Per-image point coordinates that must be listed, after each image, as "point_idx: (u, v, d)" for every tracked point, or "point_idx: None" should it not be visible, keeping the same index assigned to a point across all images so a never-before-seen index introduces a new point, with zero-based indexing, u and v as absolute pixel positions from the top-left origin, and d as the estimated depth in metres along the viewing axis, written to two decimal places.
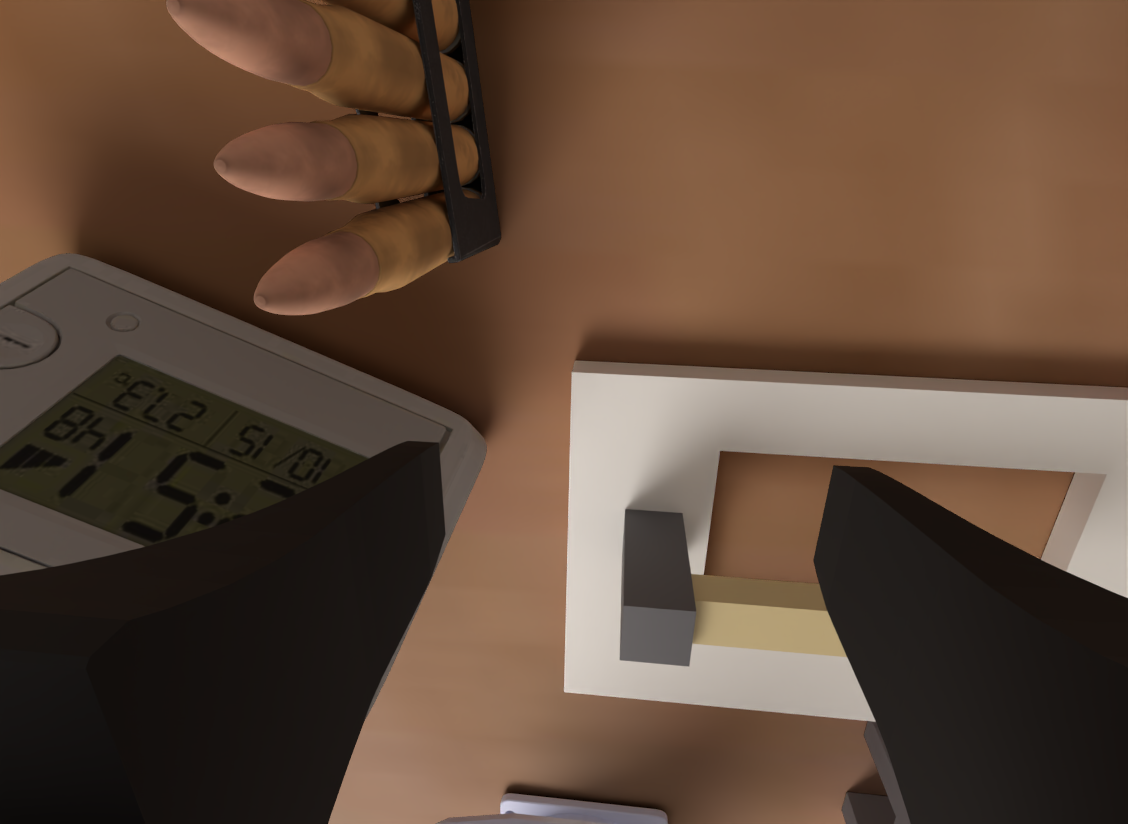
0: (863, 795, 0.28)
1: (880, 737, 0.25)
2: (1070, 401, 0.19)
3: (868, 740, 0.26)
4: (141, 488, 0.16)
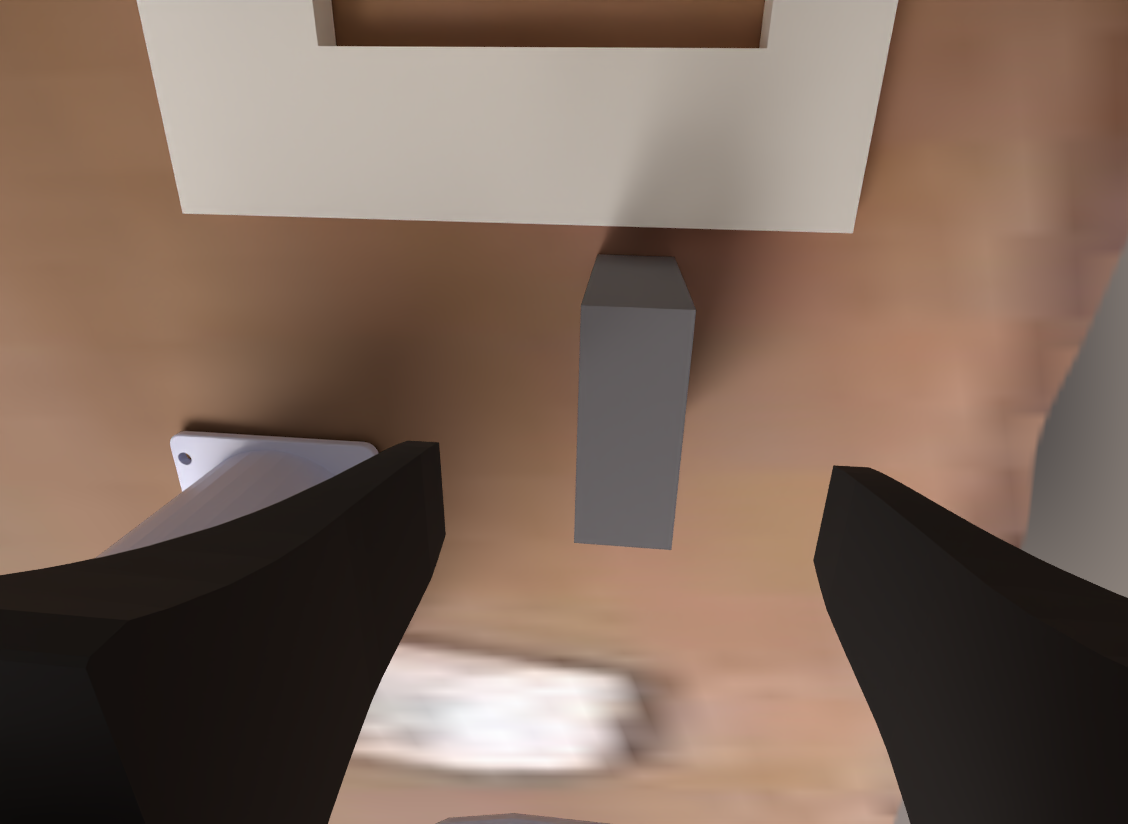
0: None
1: (597, 259, 0.18)
2: None
3: None
4: None
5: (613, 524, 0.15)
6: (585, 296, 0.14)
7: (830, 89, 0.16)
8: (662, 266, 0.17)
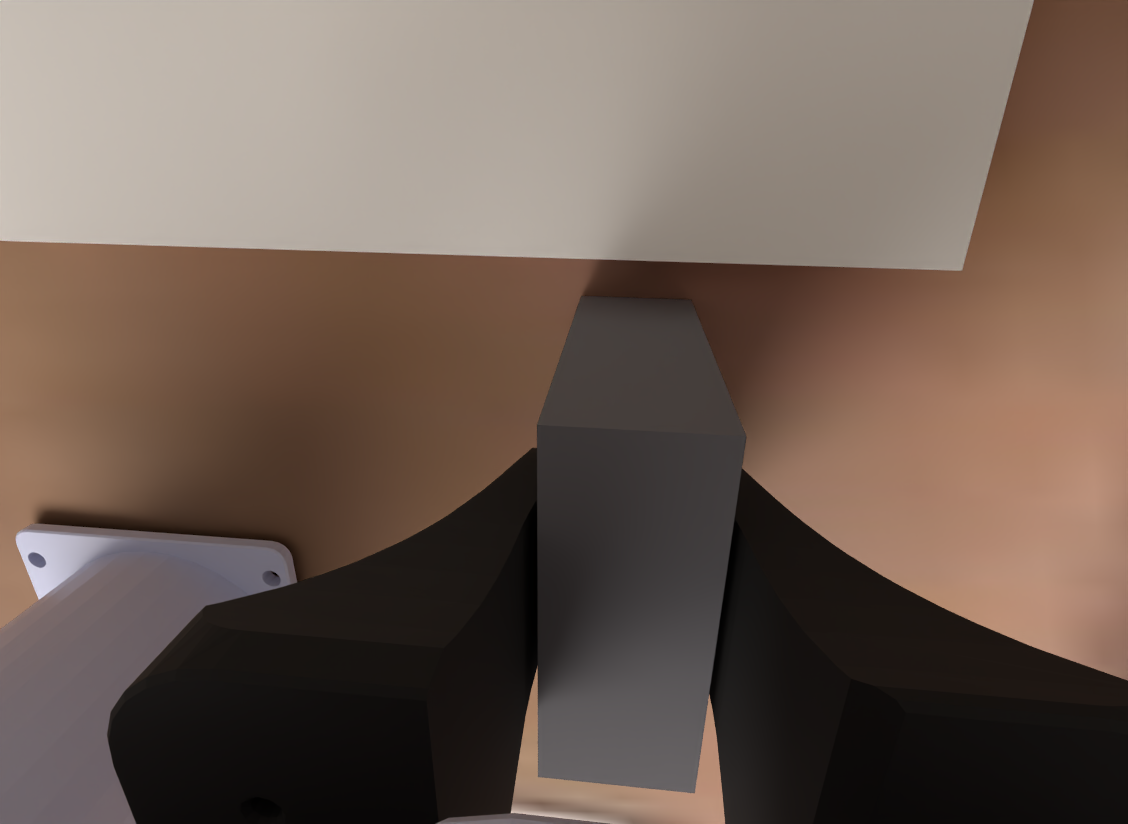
0: None
1: (579, 306, 0.13)
2: None
3: None
4: None
5: (600, 754, 0.09)
6: (549, 397, 0.08)
7: (940, 49, 0.10)
8: (675, 320, 0.12)
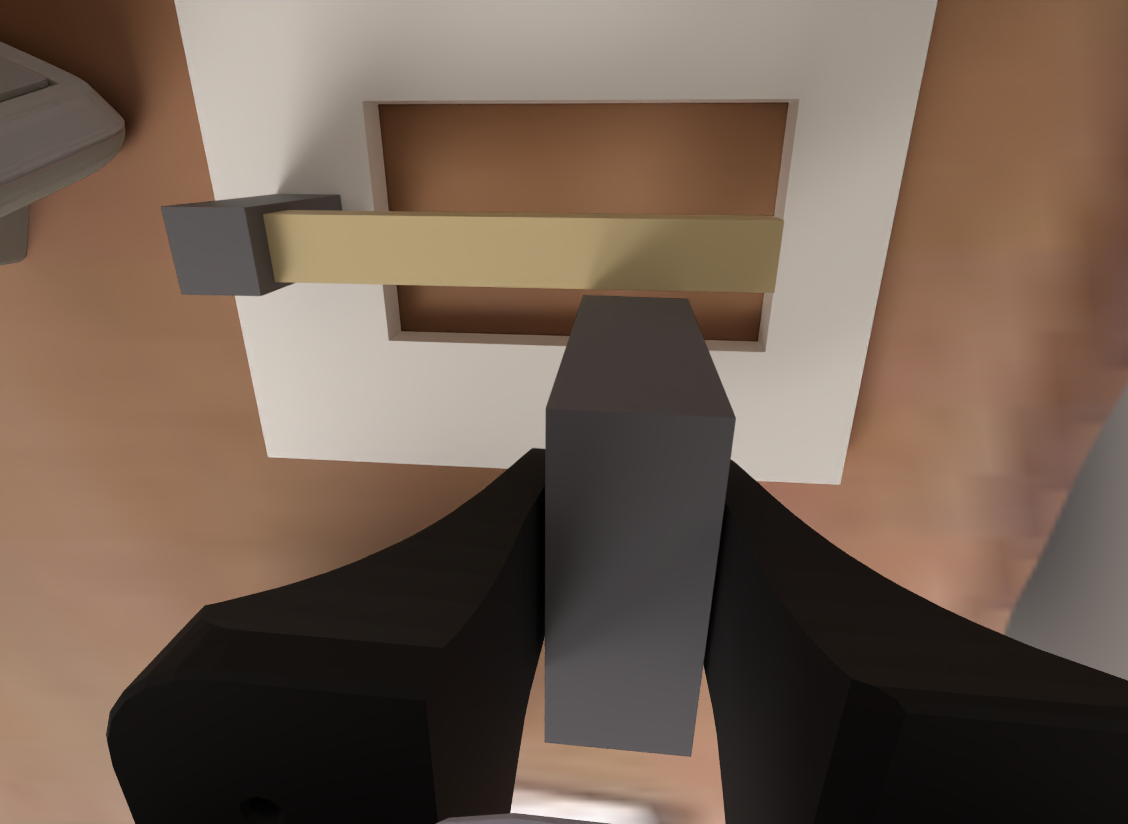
0: None
1: (582, 305, 0.13)
2: None
3: None
4: None
5: (603, 720, 0.10)
6: (555, 385, 0.09)
7: (818, 382, 0.19)
8: (672, 317, 0.12)
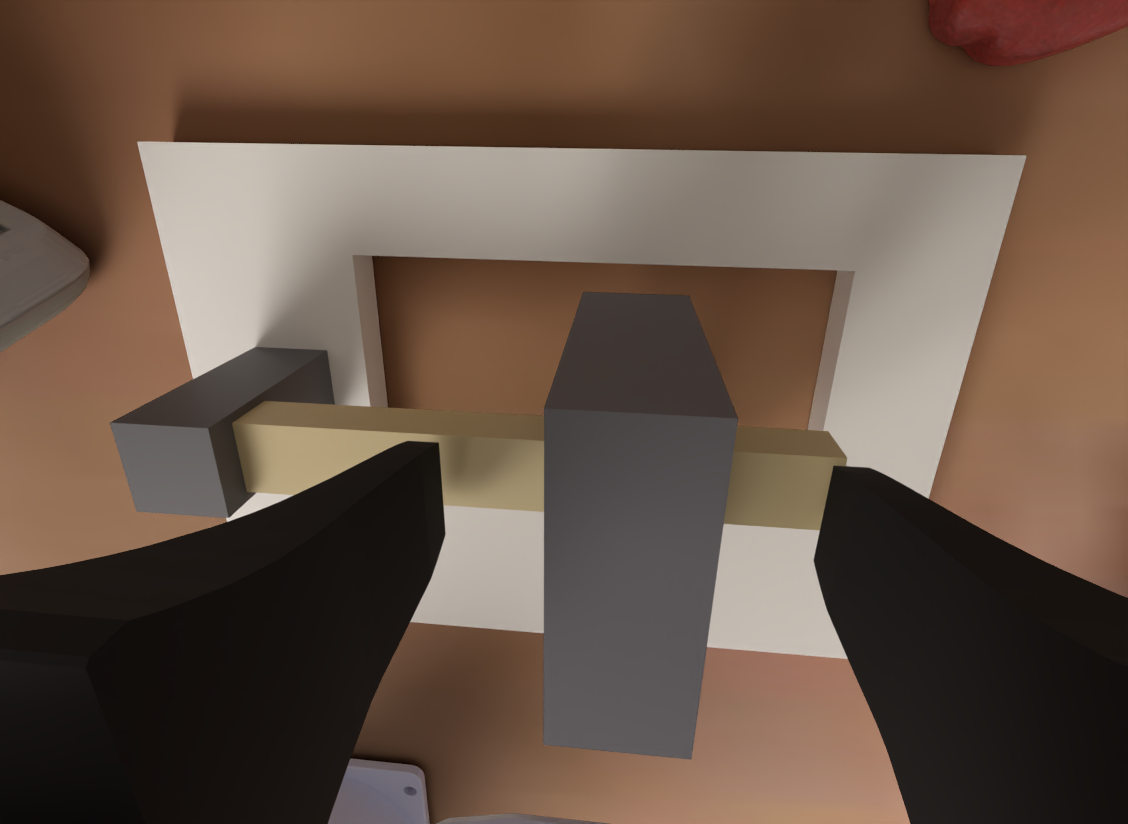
0: None
1: (582, 302, 0.13)
2: (789, 158, 0.13)
3: None
4: None
5: (602, 723, 0.10)
6: (554, 384, 0.09)
7: None
8: (673, 314, 0.12)
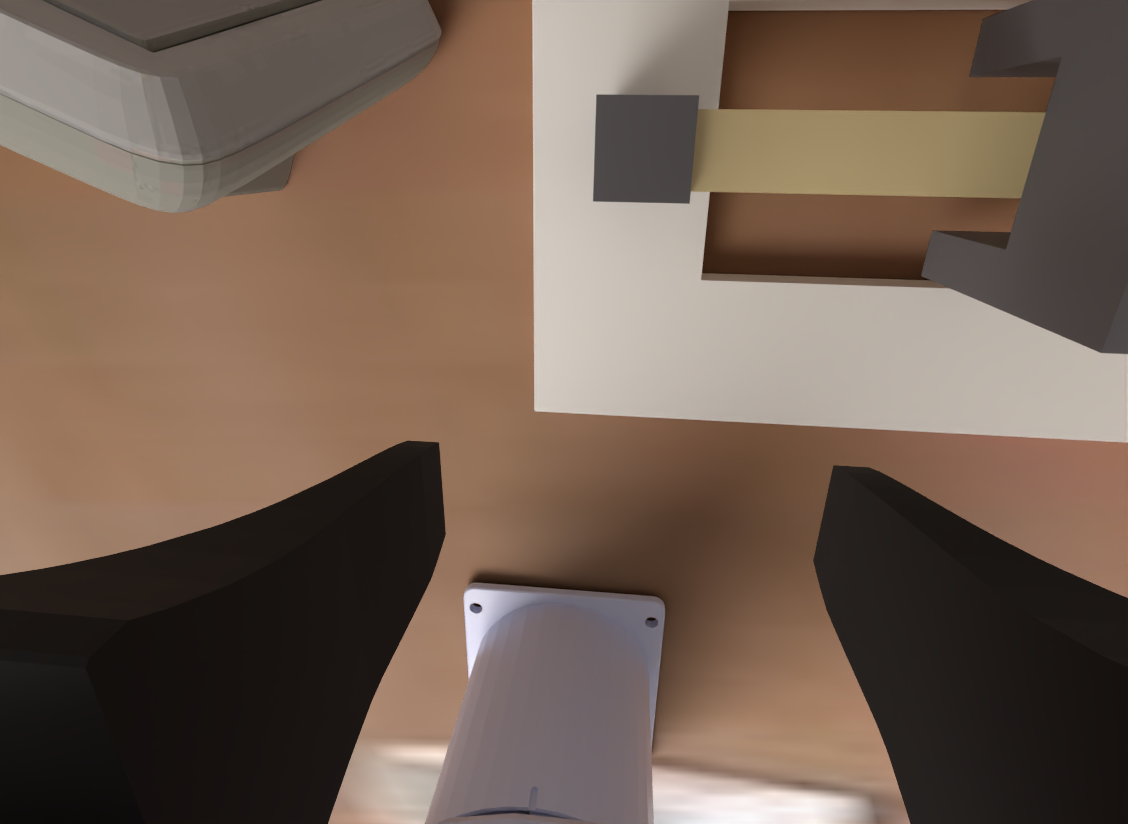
0: (961, 231, 0.16)
1: (1011, 8, 0.13)
2: None
3: (980, 64, 0.14)
4: None
5: None
6: None
7: None
8: None
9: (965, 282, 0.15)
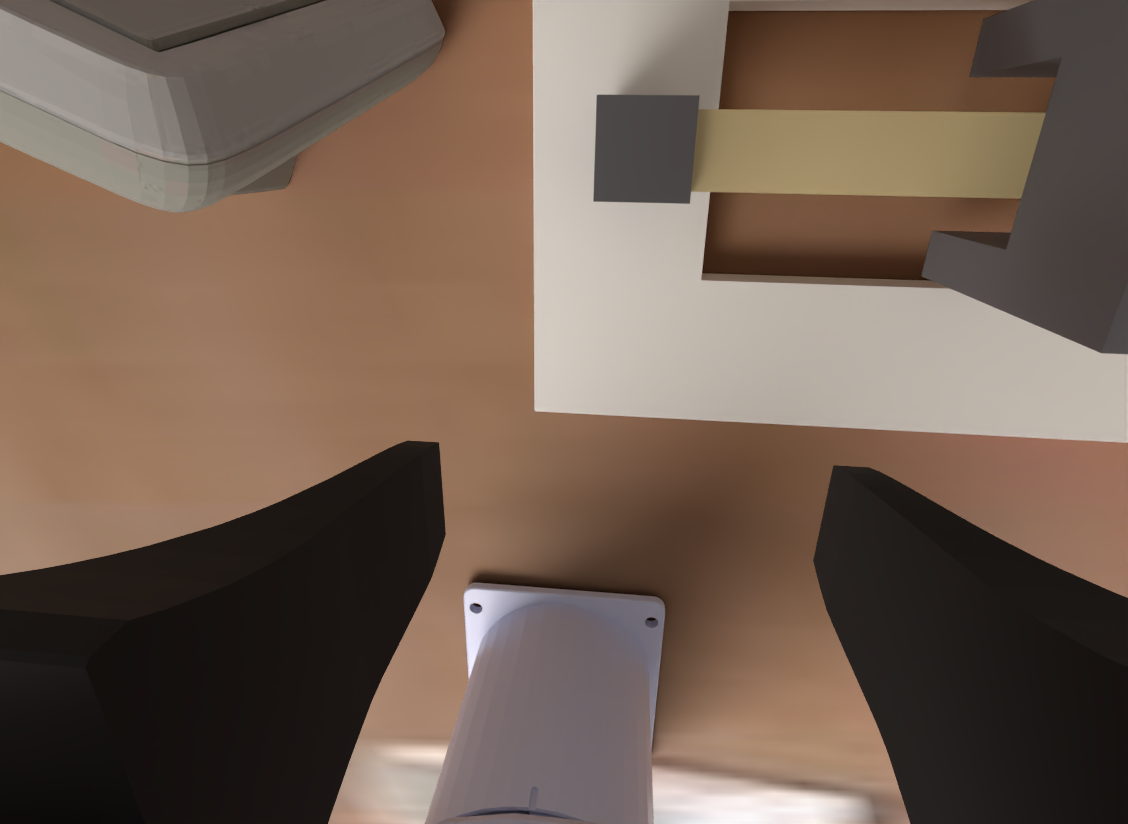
0: (961, 231, 0.16)
1: (1011, 8, 0.13)
2: None
3: (980, 65, 0.14)
4: None
5: None
6: None
7: None
8: None
9: (965, 282, 0.15)
